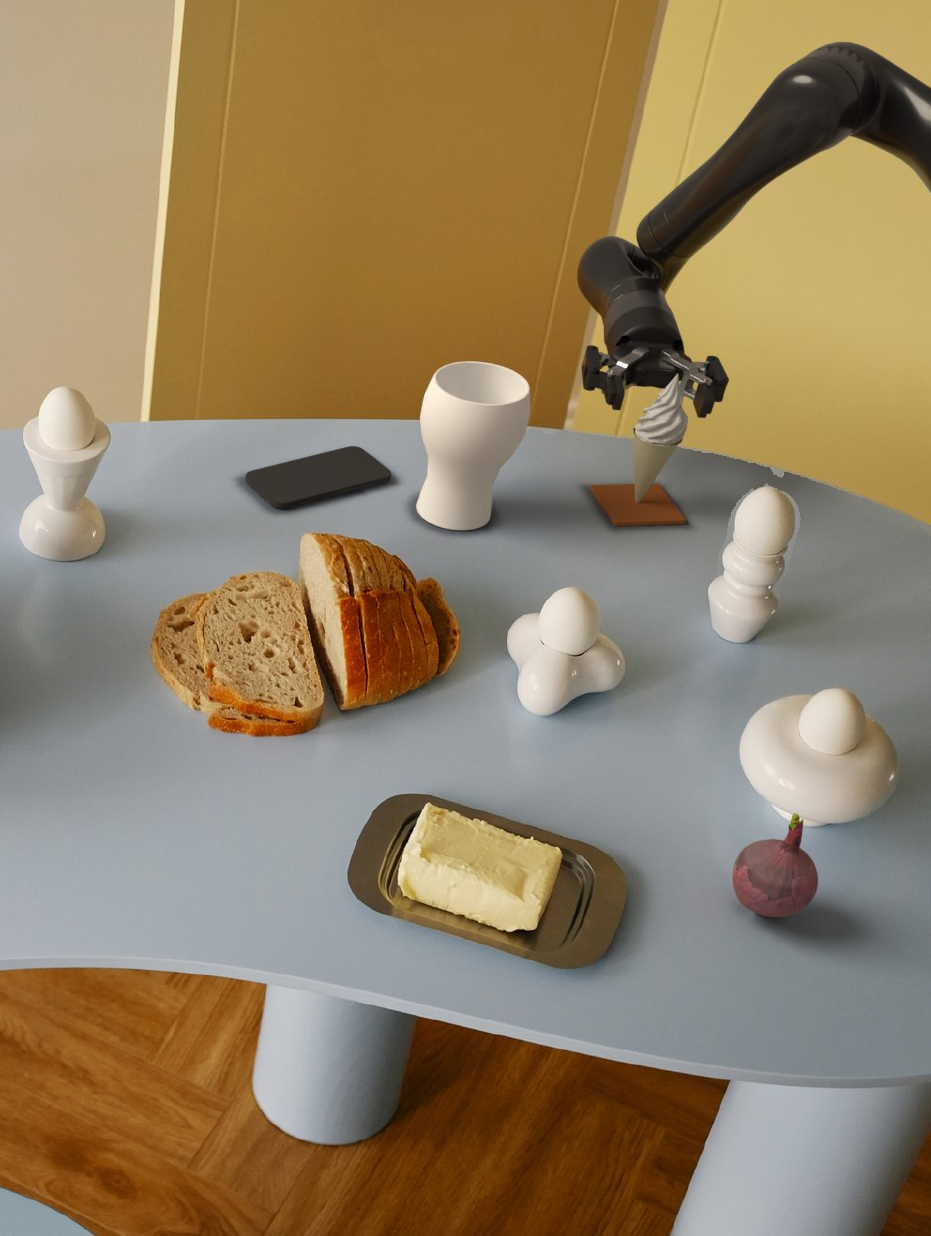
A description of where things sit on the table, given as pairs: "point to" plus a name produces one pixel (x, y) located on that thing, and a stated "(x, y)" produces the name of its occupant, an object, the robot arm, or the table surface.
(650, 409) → the ice cream cone
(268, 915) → the table surface
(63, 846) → the table surface
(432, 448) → the cup
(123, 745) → the table surface
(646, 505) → the cork mat
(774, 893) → the vegetable
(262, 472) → the phone
